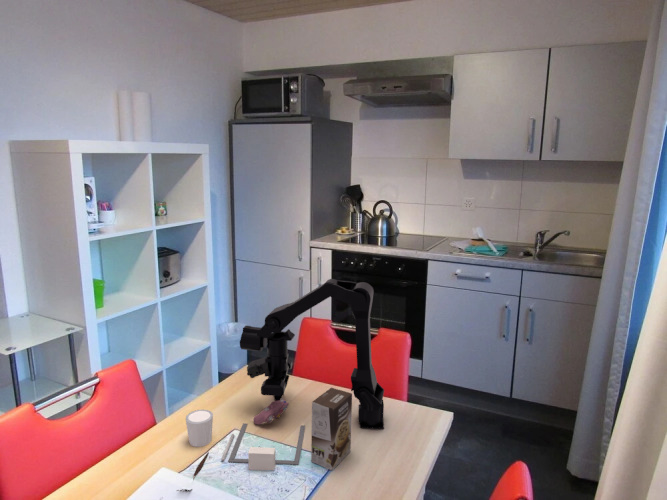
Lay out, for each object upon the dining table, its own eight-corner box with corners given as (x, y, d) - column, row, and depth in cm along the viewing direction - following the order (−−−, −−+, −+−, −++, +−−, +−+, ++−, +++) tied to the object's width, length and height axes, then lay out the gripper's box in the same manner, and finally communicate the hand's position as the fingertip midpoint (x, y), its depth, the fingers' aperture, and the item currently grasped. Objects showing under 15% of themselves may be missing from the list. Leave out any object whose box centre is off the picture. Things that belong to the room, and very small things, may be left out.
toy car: (261, 433, 130) (269, 416, 127) (250, 421, 132) (258, 404, 129) (285, 417, 138) (293, 401, 135) (275, 406, 140) (283, 390, 137)
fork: (213, 454, 119) (213, 447, 119) (187, 499, 103) (187, 491, 103) (203, 453, 119) (203, 446, 119) (176, 498, 104) (175, 490, 103)
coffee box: (332, 471, 113) (333, 409, 109) (310, 462, 116) (310, 401, 113) (351, 451, 120) (353, 393, 117) (330, 443, 124) (331, 386, 120)
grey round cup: (205, 429, 129) (204, 406, 127) (219, 440, 124) (218, 416, 123) (181, 440, 124) (180, 415, 123) (195, 451, 119) (193, 426, 118)
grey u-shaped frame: (305, 426, 131) (305, 411, 130) (297, 471, 112) (297, 454, 112) (236, 424, 132) (236, 409, 131) (217, 468, 113) (217, 452, 112)
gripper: (256, 338, 145) (256, 385, 148) (241, 365, 126) (242, 418, 130) (292, 339, 144) (292, 387, 147) (283, 367, 126) (283, 420, 129)
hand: (277, 402), depth 138 cm, fingers closed
